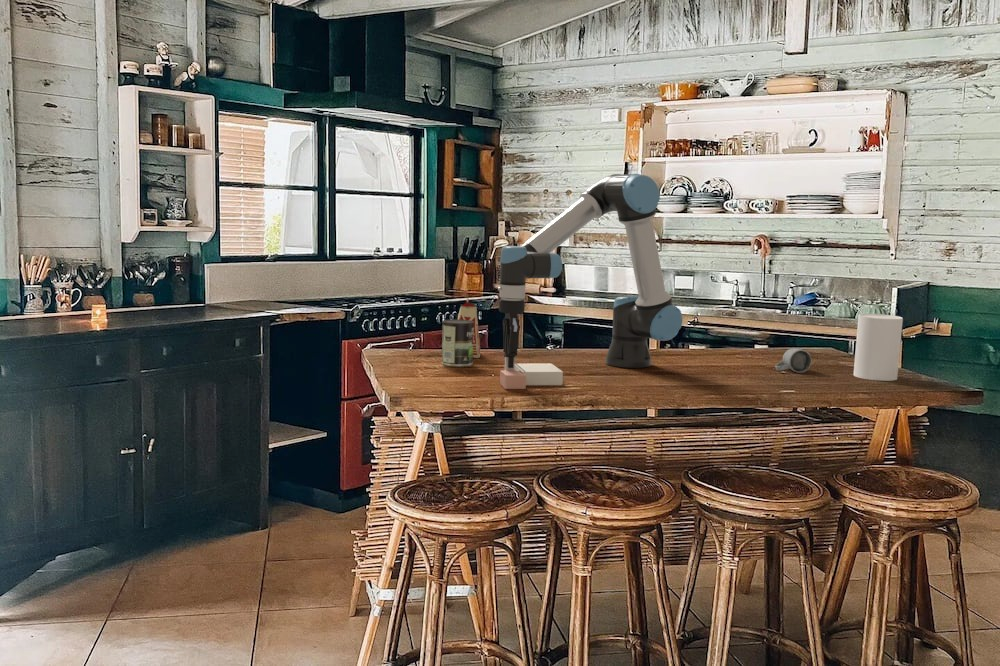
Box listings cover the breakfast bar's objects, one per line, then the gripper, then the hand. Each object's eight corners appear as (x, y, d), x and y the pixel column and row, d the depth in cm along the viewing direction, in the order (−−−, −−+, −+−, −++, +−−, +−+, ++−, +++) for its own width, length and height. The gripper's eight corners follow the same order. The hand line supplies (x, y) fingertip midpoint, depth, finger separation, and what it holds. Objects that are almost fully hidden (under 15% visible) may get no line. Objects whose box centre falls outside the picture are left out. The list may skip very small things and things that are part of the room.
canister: (844, 373, 327) (849, 314, 324) (875, 372, 332) (880, 313, 329) (874, 381, 314) (880, 319, 312) (906, 379, 320) (912, 318, 317)
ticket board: (550, 376, 305) (551, 362, 305) (562, 385, 292) (562, 371, 291) (513, 376, 303) (513, 362, 302) (522, 385, 289) (523, 371, 289)
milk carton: (479, 357, 335) (481, 299, 332) (452, 356, 335) (454, 298, 332) (480, 353, 344) (482, 296, 341) (454, 352, 344) (455, 295, 341)
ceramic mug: (801, 368, 334) (802, 346, 333) (811, 372, 326) (812, 350, 325) (771, 368, 333) (772, 346, 332) (780, 373, 325) (781, 350, 324)
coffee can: (475, 362, 326) (477, 320, 324) (468, 367, 316) (469, 324, 314) (445, 360, 328) (446, 318, 326) (437, 365, 318) (438, 322, 316)
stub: (519, 383, 292) (520, 369, 291) (525, 388, 284) (526, 374, 283) (499, 383, 290) (500, 369, 290) (505, 389, 283) (505, 374, 282)
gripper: (495, 296, 294) (492, 374, 297) (504, 301, 281) (501, 382, 285) (519, 296, 295) (516, 373, 299) (529, 301, 283) (526, 382, 286)
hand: (509, 378), depth 292 cm, fingers closed
